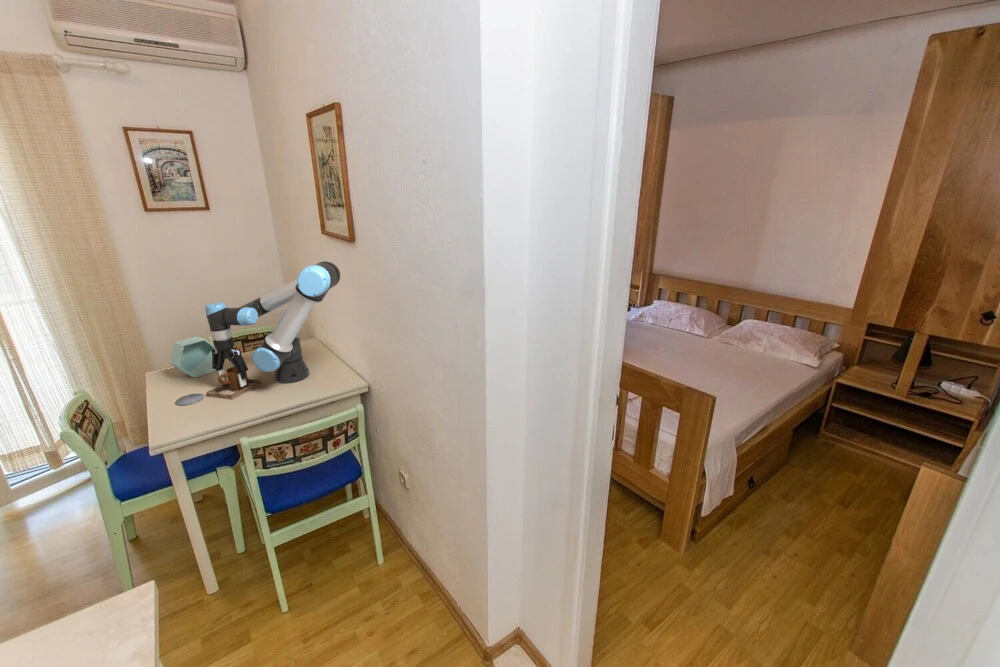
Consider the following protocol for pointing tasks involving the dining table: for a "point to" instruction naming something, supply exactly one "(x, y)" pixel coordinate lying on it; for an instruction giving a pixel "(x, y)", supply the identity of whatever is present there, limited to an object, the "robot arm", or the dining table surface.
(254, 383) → the brown wooden frame
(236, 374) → the mug
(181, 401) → the coaster
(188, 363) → the planter
